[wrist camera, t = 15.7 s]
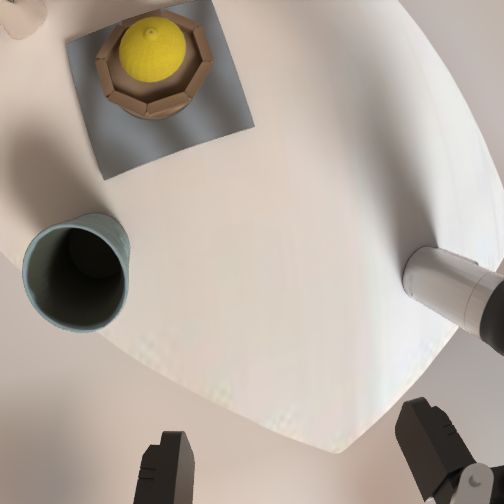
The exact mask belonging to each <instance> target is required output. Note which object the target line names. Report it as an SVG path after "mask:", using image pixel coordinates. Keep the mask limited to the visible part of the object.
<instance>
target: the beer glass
mask: <svg viewBox="0 0 504 504" xmlns="http://www.w3.org/2000/svg"><path fill="white" fill-rule="evenodd" d="M46 15H47V8H46V5H45V4H44V3H43V2H42V1H40V0H0V25H1V26H3V27H4V28H5V29H6V31H7V33H8V35H9V36H10V37H11V38H13V39H16V40H20V39H24V38H27V37H29V36H31V35H32V34H34V33H35V32H36V31H37V30H38V29H39V28H40V27H41V25H42V24H43V22H44V21H45V18H46Z"/></svg>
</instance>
